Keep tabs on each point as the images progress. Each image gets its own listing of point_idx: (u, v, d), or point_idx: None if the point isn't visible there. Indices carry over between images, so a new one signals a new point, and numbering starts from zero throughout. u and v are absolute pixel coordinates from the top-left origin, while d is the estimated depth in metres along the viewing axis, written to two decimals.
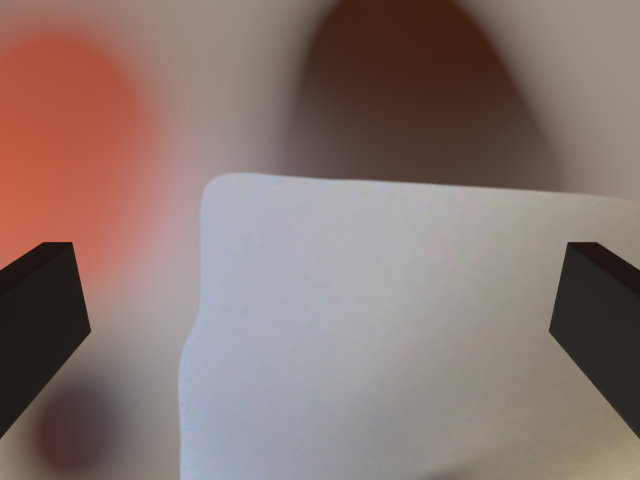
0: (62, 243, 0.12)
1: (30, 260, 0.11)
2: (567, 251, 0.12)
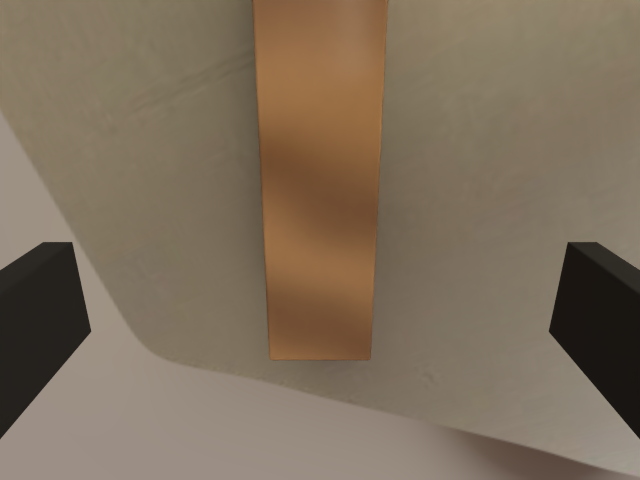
0: (62, 243, 0.12)
1: (31, 260, 0.11)
2: (567, 251, 0.12)
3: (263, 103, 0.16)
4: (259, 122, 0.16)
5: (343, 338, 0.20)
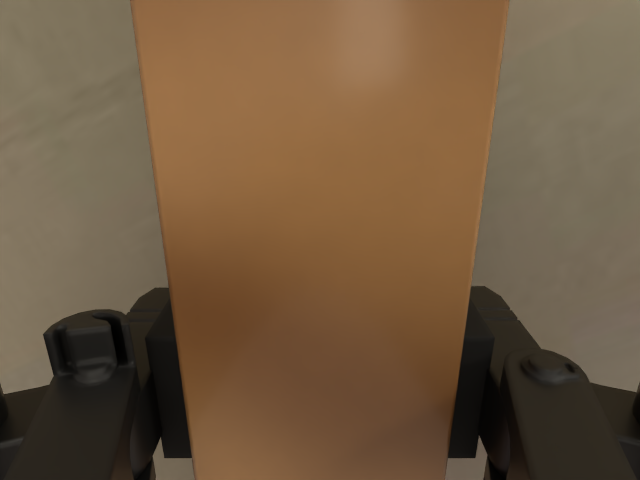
0: None
1: None
2: None
3: (169, 174, 0.06)
4: (162, 221, 0.06)
5: None
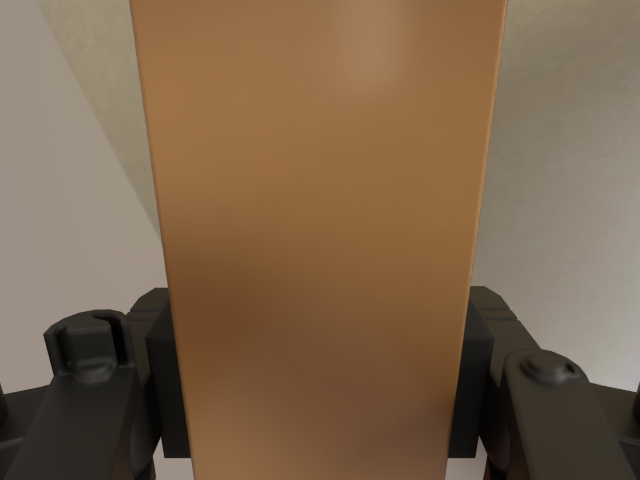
0: None
1: None
2: None
3: (167, 171, 0.06)
4: (161, 219, 0.06)
5: None
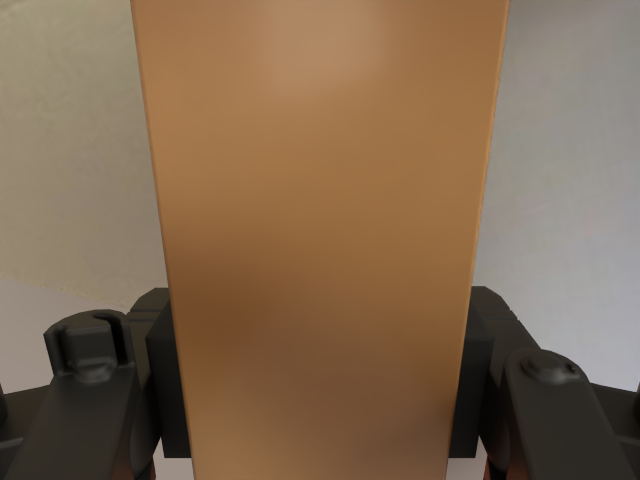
0: None
1: None
2: None
3: (168, 173, 0.06)
4: (161, 220, 0.06)
5: None
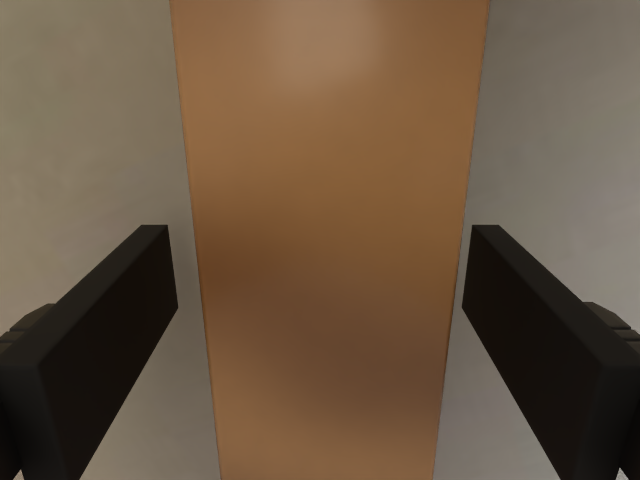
0: (159, 225, 0.13)
1: (139, 239, 0.12)
2: (472, 233, 0.13)
3: (199, 157, 0.07)
4: (192, 198, 0.07)
5: None
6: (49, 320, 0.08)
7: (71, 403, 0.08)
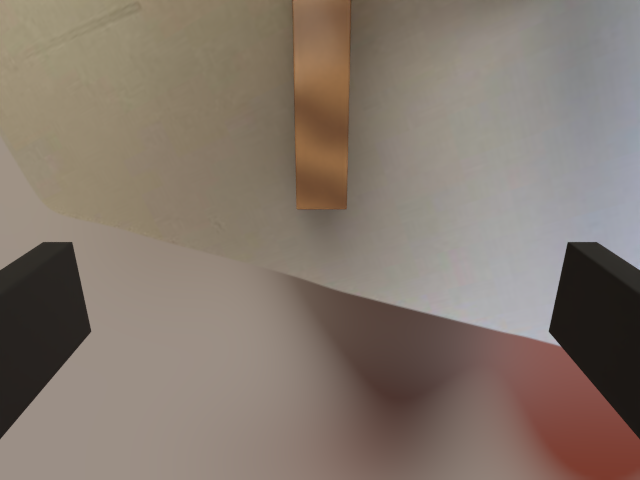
0: (62, 243, 0.12)
1: (30, 260, 0.11)
2: (567, 251, 0.12)
3: (296, 79, 0.37)
4: (294, 88, 0.37)
5: (333, 196, 0.40)
6: None
7: None
